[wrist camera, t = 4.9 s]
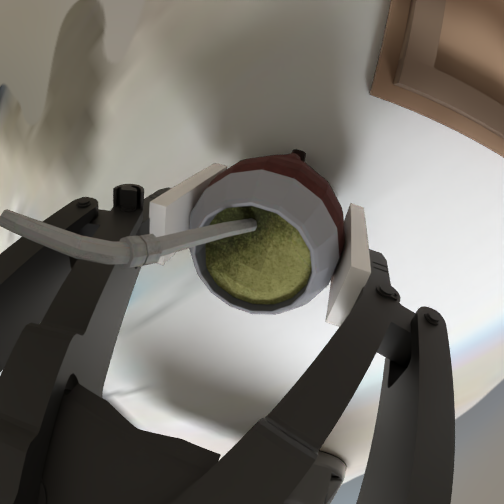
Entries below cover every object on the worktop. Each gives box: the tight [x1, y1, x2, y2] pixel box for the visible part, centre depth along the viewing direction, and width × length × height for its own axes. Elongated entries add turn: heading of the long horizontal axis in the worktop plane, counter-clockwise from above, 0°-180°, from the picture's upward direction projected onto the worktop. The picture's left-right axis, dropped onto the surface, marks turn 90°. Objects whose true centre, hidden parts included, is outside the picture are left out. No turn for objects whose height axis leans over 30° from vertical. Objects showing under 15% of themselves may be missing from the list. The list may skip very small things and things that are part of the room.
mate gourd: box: [0, 149, 345, 314], centre depth 12 cm, size 8×8×15 cm
